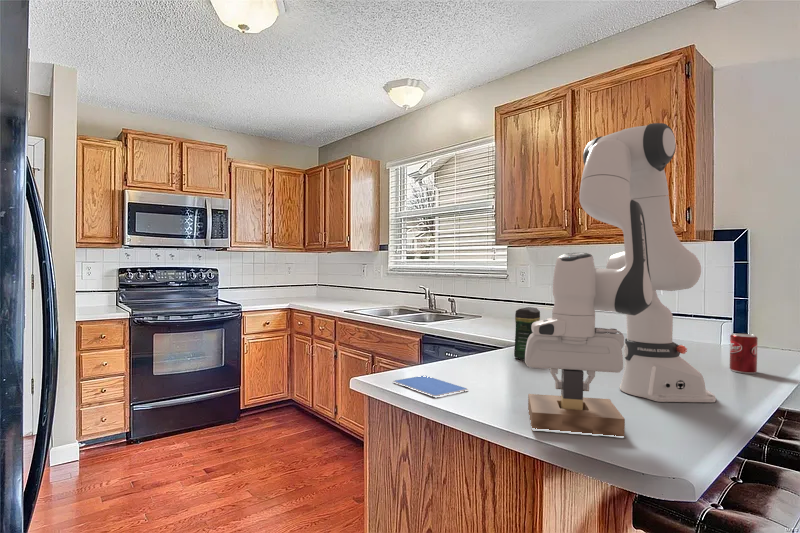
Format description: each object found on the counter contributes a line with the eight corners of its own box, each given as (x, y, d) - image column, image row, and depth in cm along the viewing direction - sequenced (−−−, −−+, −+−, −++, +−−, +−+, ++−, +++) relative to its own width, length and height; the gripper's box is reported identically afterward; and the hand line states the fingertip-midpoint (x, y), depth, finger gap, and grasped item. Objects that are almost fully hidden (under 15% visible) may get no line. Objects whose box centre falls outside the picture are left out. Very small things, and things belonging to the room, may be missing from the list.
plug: (579, 408, 106) (580, 354, 106) (582, 413, 102) (583, 358, 102) (560, 406, 107) (562, 353, 107) (562, 412, 103) (564, 356, 103)
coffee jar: (532, 362, 167) (533, 309, 167) (511, 358, 172) (511, 307, 171) (542, 357, 175) (543, 307, 174) (522, 354, 179) (522, 305, 179)
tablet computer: (391, 384, 138) (391, 380, 138) (425, 378, 145) (425, 374, 145) (434, 401, 122) (434, 396, 122) (470, 393, 129) (470, 388, 129)
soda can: (732, 373, 153) (733, 335, 153) (726, 368, 160) (727, 332, 160) (760, 375, 150) (760, 337, 150) (752, 370, 157) (753, 334, 157)
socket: (609, 416, 109) (609, 399, 109) (624, 438, 96) (624, 419, 96) (528, 410, 113) (528, 393, 113) (531, 431, 99) (532, 412, 99)
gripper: (620, 327, 105) (619, 389, 105) (525, 322, 109) (523, 382, 110) (628, 331, 99) (626, 397, 99) (526, 326, 103) (525, 390, 103)
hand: (571, 389), depth 104 cm, fingers closed on plug, 4 cm apart
